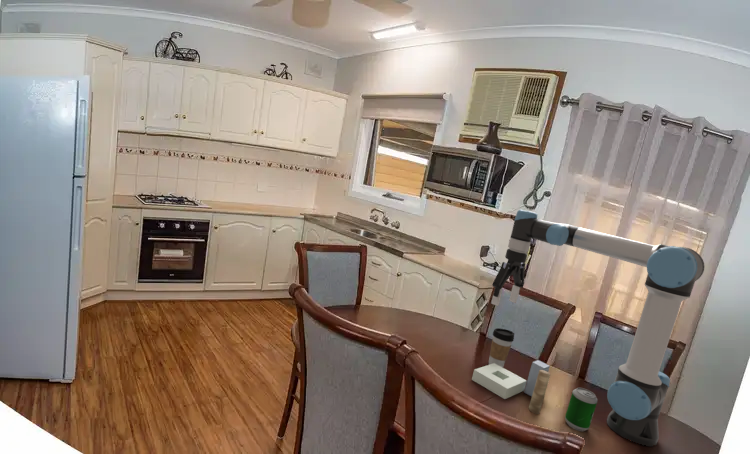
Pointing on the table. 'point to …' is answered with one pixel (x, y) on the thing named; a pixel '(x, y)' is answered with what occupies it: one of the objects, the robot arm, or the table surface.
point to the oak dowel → (539, 391)
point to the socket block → (499, 380)
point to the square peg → (534, 375)
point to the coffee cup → (500, 346)
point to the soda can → (581, 409)
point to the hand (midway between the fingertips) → (503, 303)
